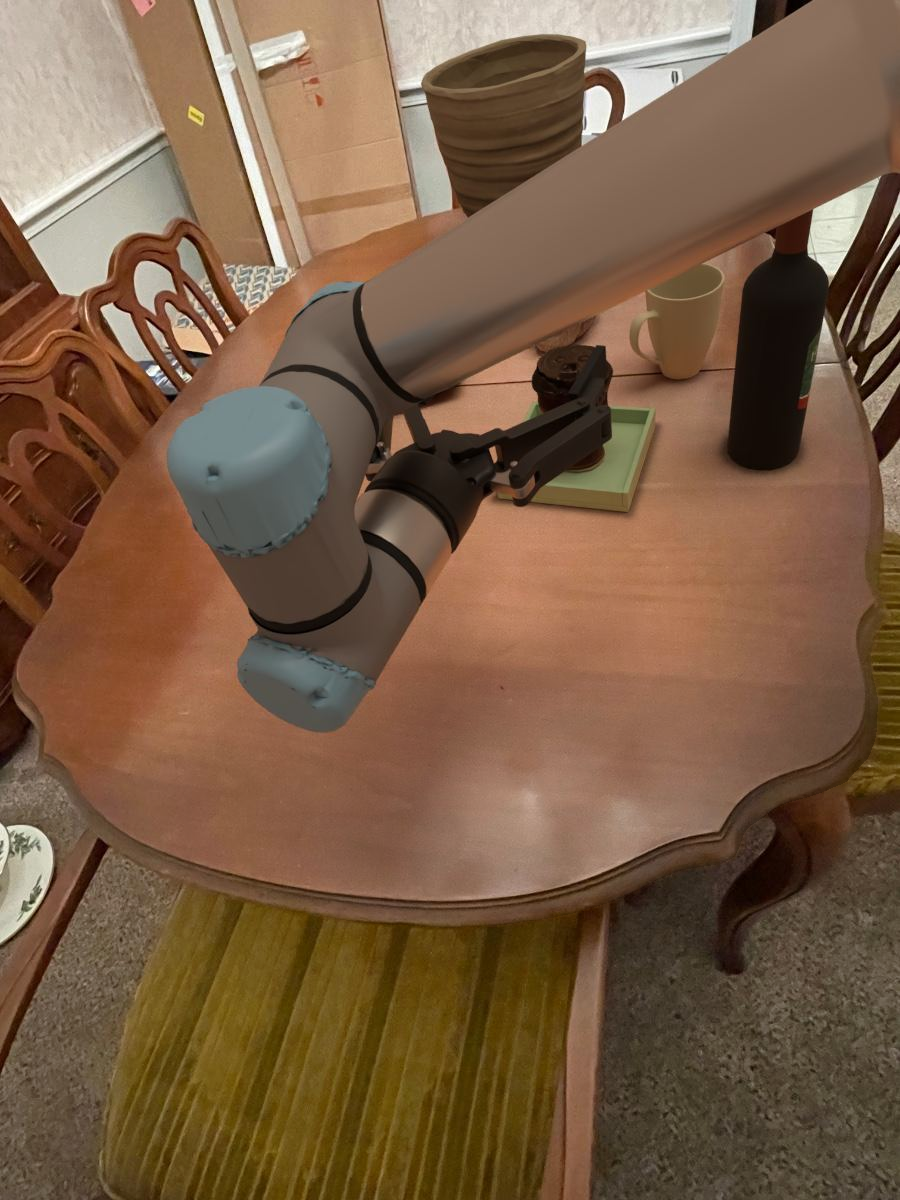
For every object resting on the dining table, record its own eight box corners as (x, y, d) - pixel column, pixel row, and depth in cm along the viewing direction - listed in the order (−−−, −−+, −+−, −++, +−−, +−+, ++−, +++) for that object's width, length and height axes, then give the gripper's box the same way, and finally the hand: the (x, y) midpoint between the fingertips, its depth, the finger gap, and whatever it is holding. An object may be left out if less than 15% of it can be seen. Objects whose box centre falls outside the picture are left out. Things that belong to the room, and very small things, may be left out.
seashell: (532, 285, 114) (559, 232, 105) (587, 311, 115) (619, 262, 106) (508, 353, 108) (535, 304, 99) (567, 380, 109) (598, 334, 100)
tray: (655, 427, 91) (655, 407, 89) (628, 512, 83) (627, 493, 81) (535, 419, 97) (532, 401, 95) (498, 498, 88) (494, 480, 86)
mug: (644, 349, 102) (644, 262, 94) (721, 349, 99) (728, 260, 90) (629, 397, 96) (627, 309, 87) (710, 399, 93) (717, 308, 84)
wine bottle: (721, 432, 88) (745, 155, 66) (789, 423, 87) (837, 138, 65) (734, 474, 83) (766, 189, 61) (807, 465, 82) (866, 171, 60)
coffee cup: (576, 491, 85) (568, 393, 76) (526, 462, 90) (512, 367, 81) (629, 451, 88) (627, 352, 78) (577, 425, 93) (569, 329, 83)
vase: (590, 207, 136) (601, 8, 111) (564, 288, 124) (570, 85, 99) (460, 200, 142) (442, 9, 117) (423, 277, 130) (394, 82, 105)
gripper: (283, 533, 60) (406, 379, 71) (583, 600, 49) (672, 407, 61) (246, 459, 54) (386, 305, 66) (574, 516, 44) (674, 321, 55)
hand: (523, 353), depth 63 cm, fingers open, 13 cm apart
